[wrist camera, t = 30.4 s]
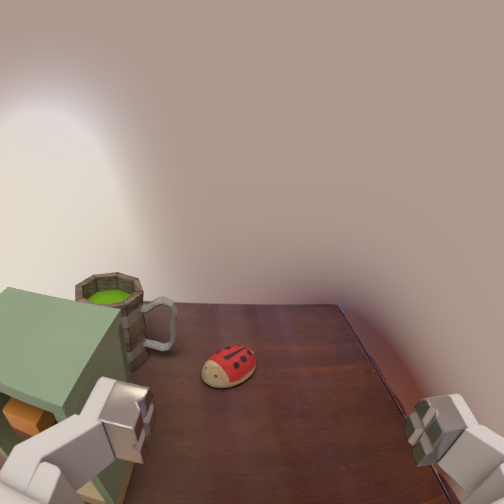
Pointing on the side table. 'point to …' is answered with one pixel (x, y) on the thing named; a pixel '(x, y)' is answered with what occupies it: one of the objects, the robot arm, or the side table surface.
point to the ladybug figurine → (229, 367)
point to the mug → (127, 311)
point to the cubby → (61, 368)
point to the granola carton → (27, 418)
